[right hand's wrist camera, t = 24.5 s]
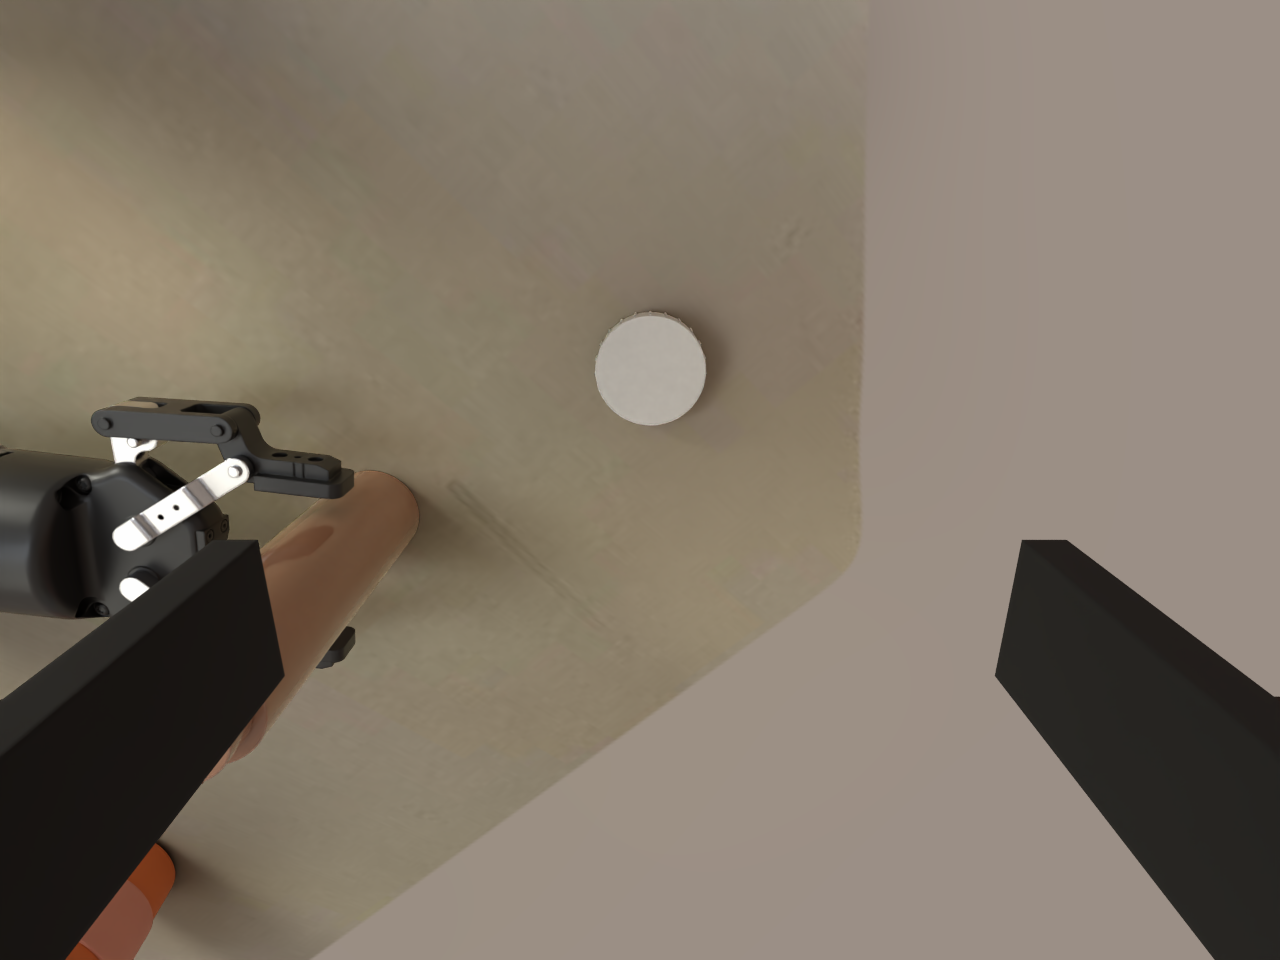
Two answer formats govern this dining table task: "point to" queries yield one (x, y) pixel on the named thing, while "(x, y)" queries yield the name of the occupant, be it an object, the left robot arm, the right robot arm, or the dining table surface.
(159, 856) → the cup with straw
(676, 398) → the lid
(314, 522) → the jar
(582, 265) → the dining table surface
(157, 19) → the dining table surface
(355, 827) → the dining table surface
